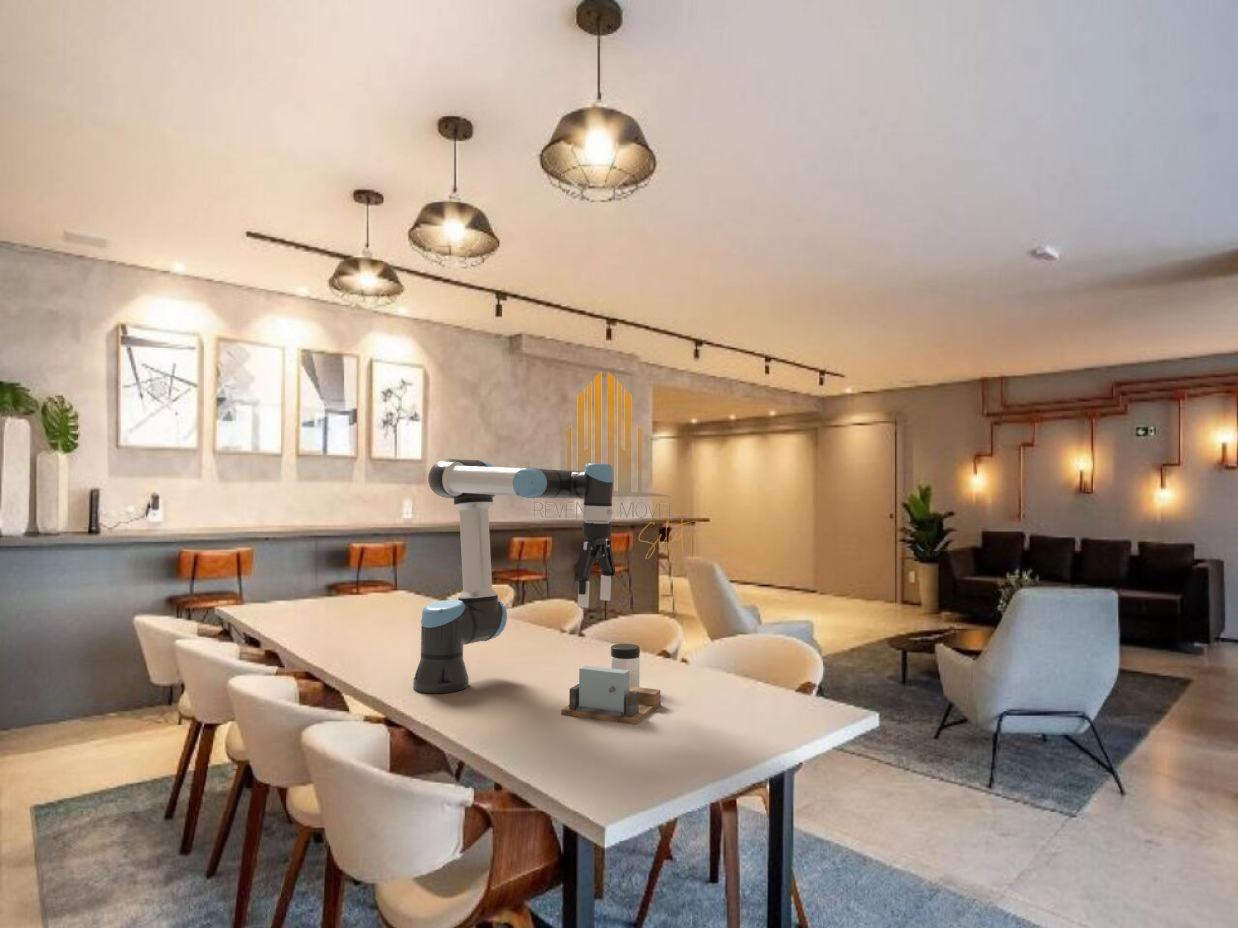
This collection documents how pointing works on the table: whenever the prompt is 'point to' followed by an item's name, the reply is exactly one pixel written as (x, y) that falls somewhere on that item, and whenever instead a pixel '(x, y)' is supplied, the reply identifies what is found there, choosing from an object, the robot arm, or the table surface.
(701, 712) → the table surface
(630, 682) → the jar
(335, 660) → the table surface
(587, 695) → the door
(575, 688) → the brown piece
